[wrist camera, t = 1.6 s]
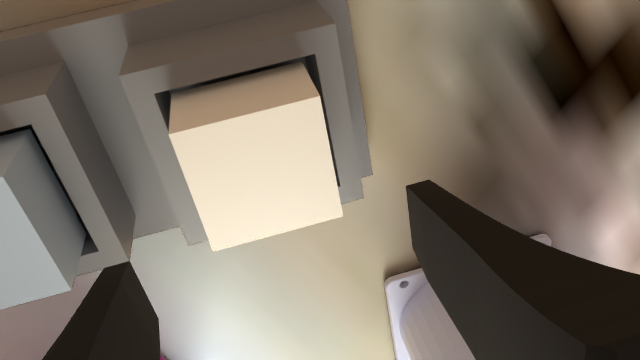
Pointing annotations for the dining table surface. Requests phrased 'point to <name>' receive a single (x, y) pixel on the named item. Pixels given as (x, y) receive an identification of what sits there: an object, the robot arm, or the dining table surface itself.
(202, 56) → the key panel
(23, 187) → the light gray key
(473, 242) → the robot arm
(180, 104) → the cream key
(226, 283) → the dining table surface
